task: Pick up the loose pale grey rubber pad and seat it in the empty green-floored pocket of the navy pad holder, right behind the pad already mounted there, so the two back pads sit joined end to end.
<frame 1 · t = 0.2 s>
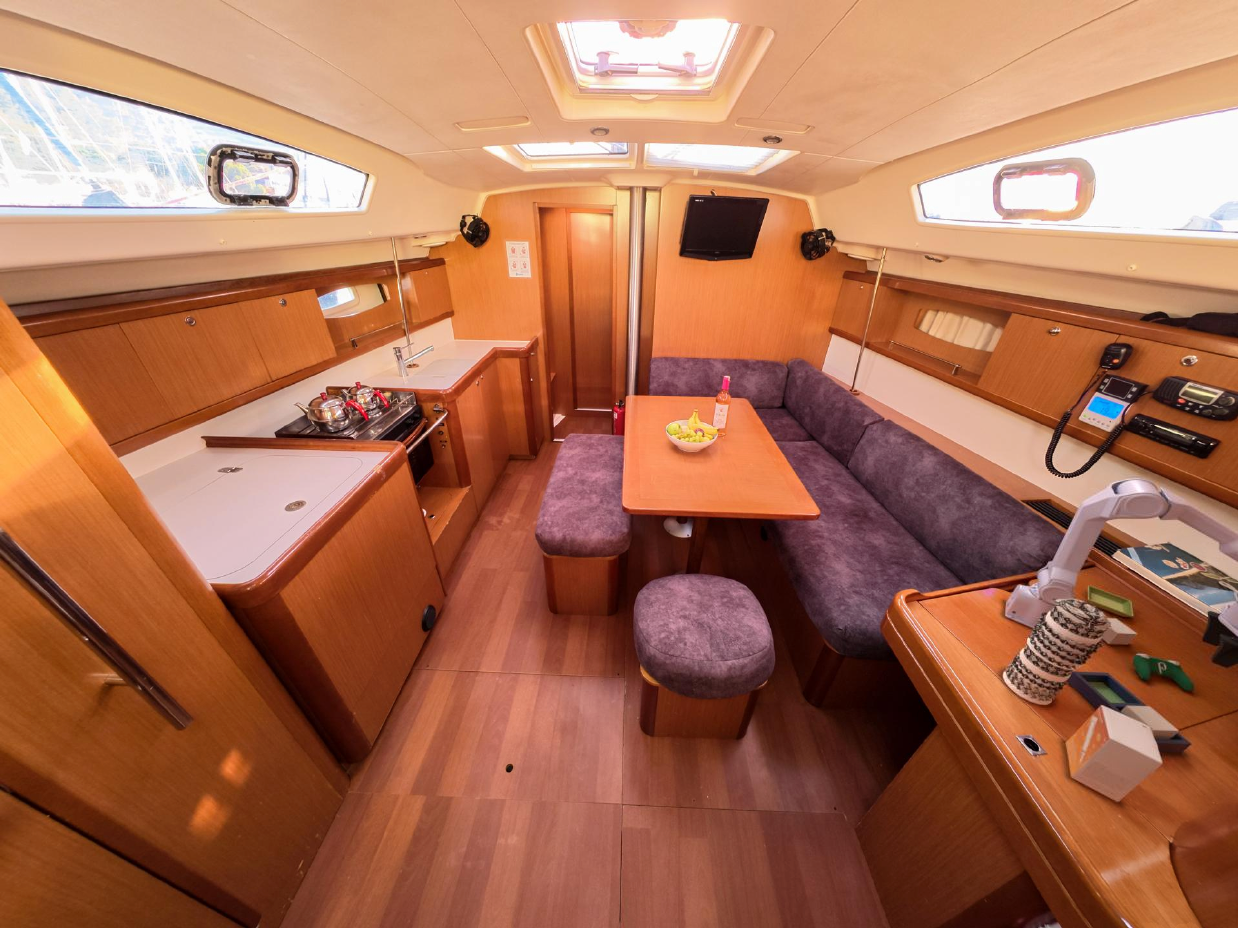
hand: (1213, 653, 89), 10 cm above the table, tool pointing down, fingers open, 7 cm apart
green shallow tray: (1105, 605, 115), on the table
gaming controller: (1155, 676, 95), on the table
loose pad: (1108, 636, 105), on the table
pad holder: (1119, 713, 87), on the table
small box: (1089, 771, 76), on the table
decorative candle: (1026, 687, 92), on the table
mounted pad: (1140, 729, 83), point 1 cm above the table, touching pad holder
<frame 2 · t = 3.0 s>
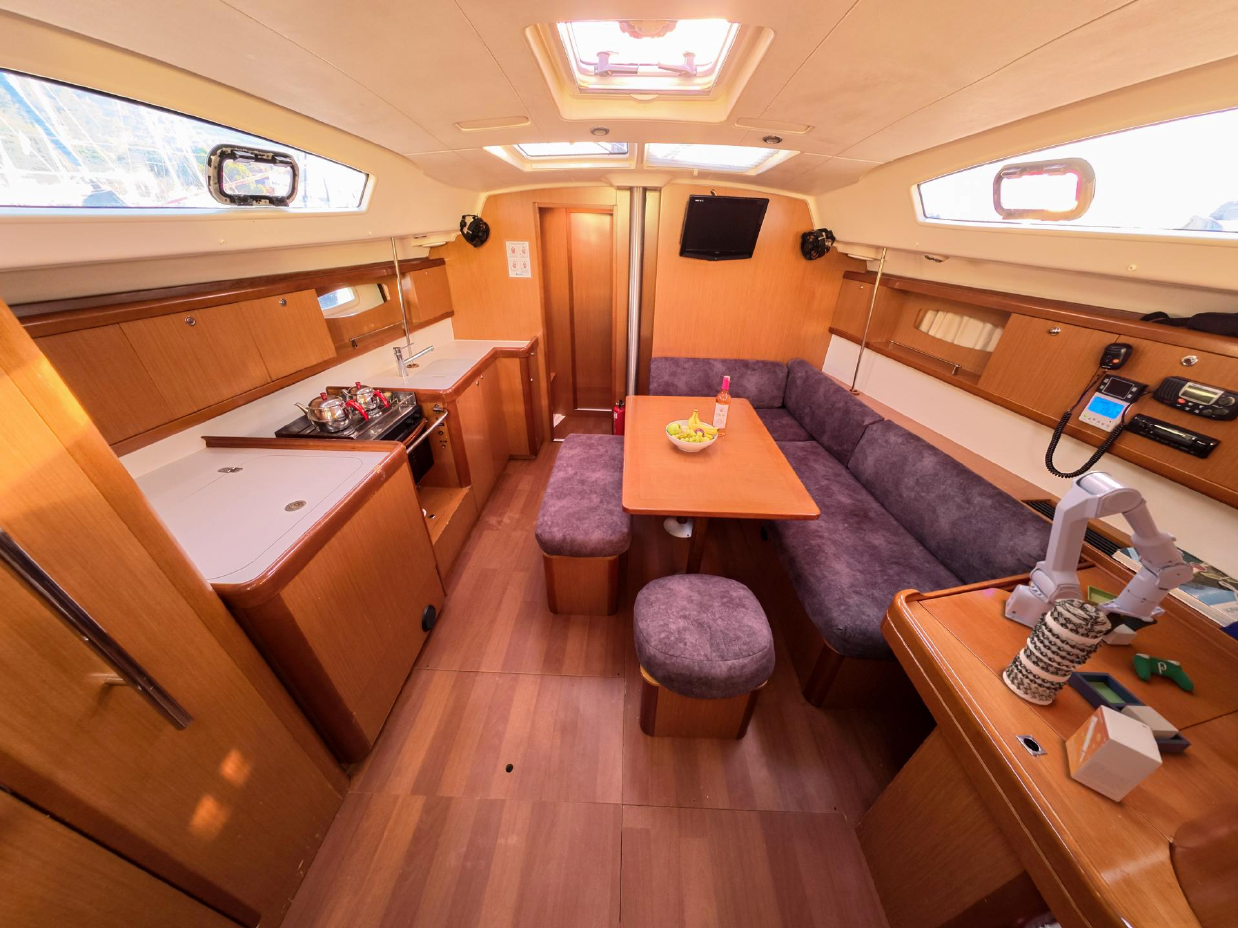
hand: (1110, 632, 104), 1 cm above the table, tool pointing down, fingers closed on loose pad, 5 cm apart
loose pad: (1108, 636, 105), on the table, touching gripper
everything else where it was.
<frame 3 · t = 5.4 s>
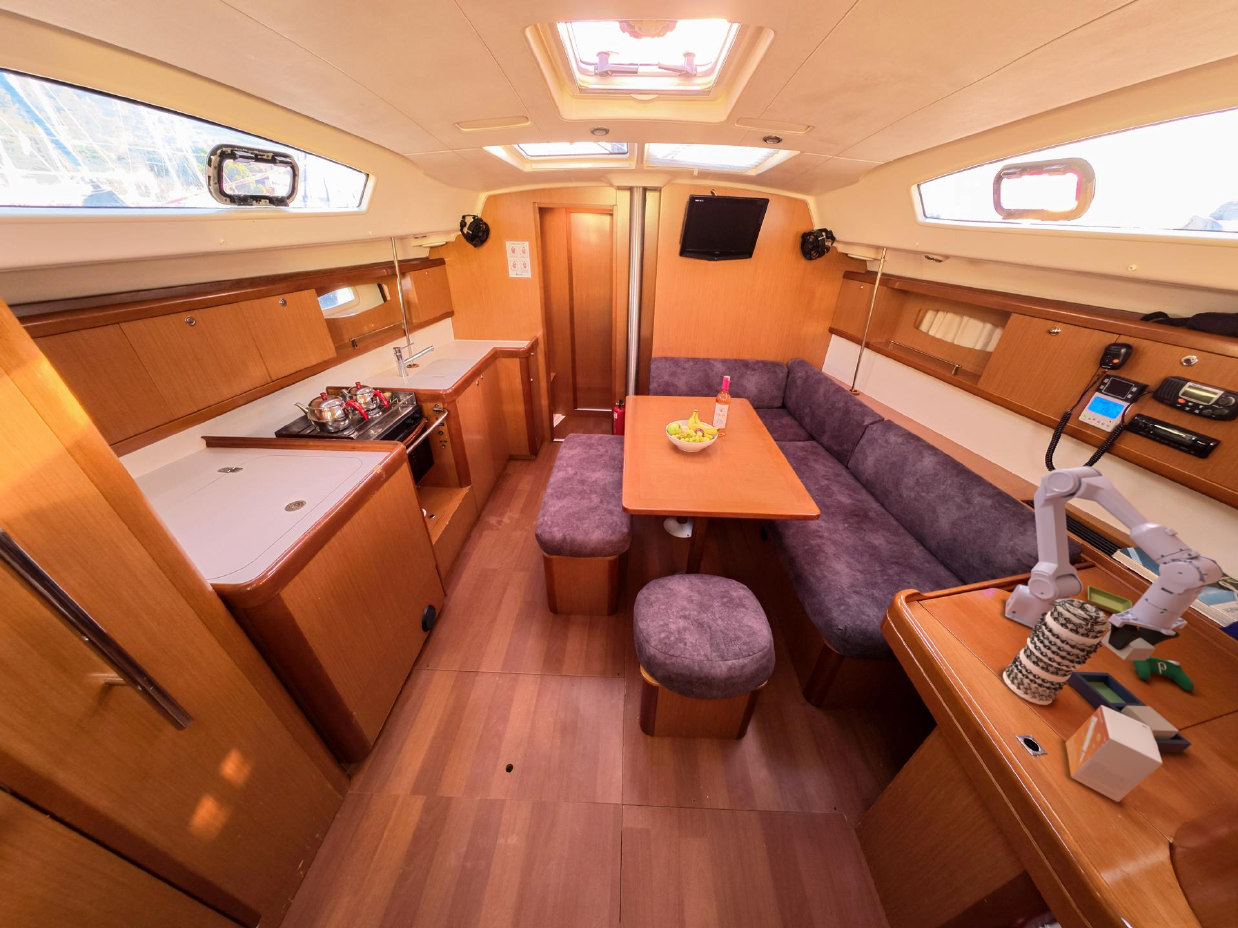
hand: (1125, 646, 92), 8 cm above the table, tool pointing down, fingers closed on loose pad, 5 cm apart
loose pad: (1122, 650, 93), point 7 cm above the table, touching gripper
everything else where it was.
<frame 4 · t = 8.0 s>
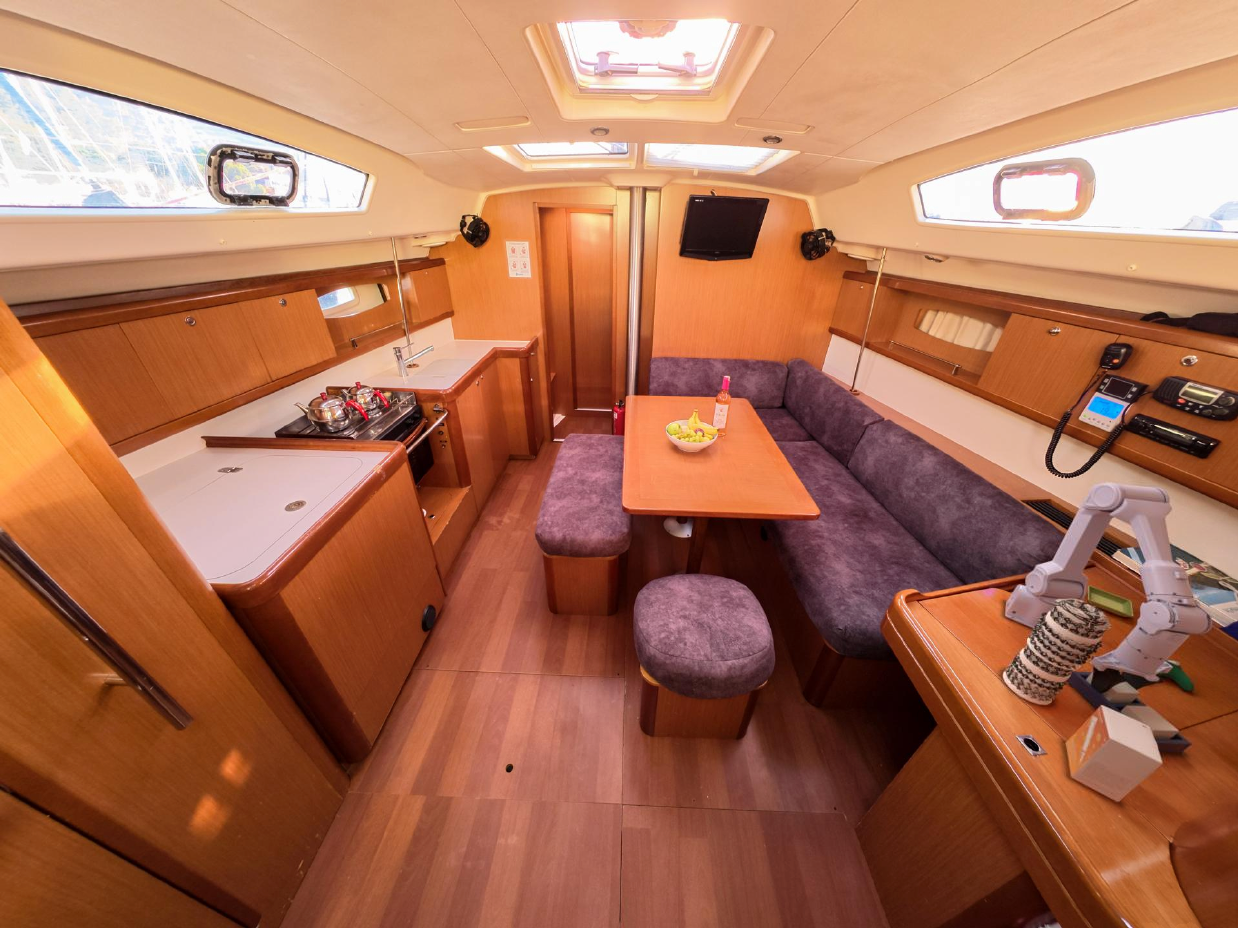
hand: (1108, 689, 89), 3 cm above the table, tool pointing down, fingers closed on loose pad, 5 cm apart
loose pad: (1105, 693, 89), point 1 cm above the table, touching gripper
everything else where it was.
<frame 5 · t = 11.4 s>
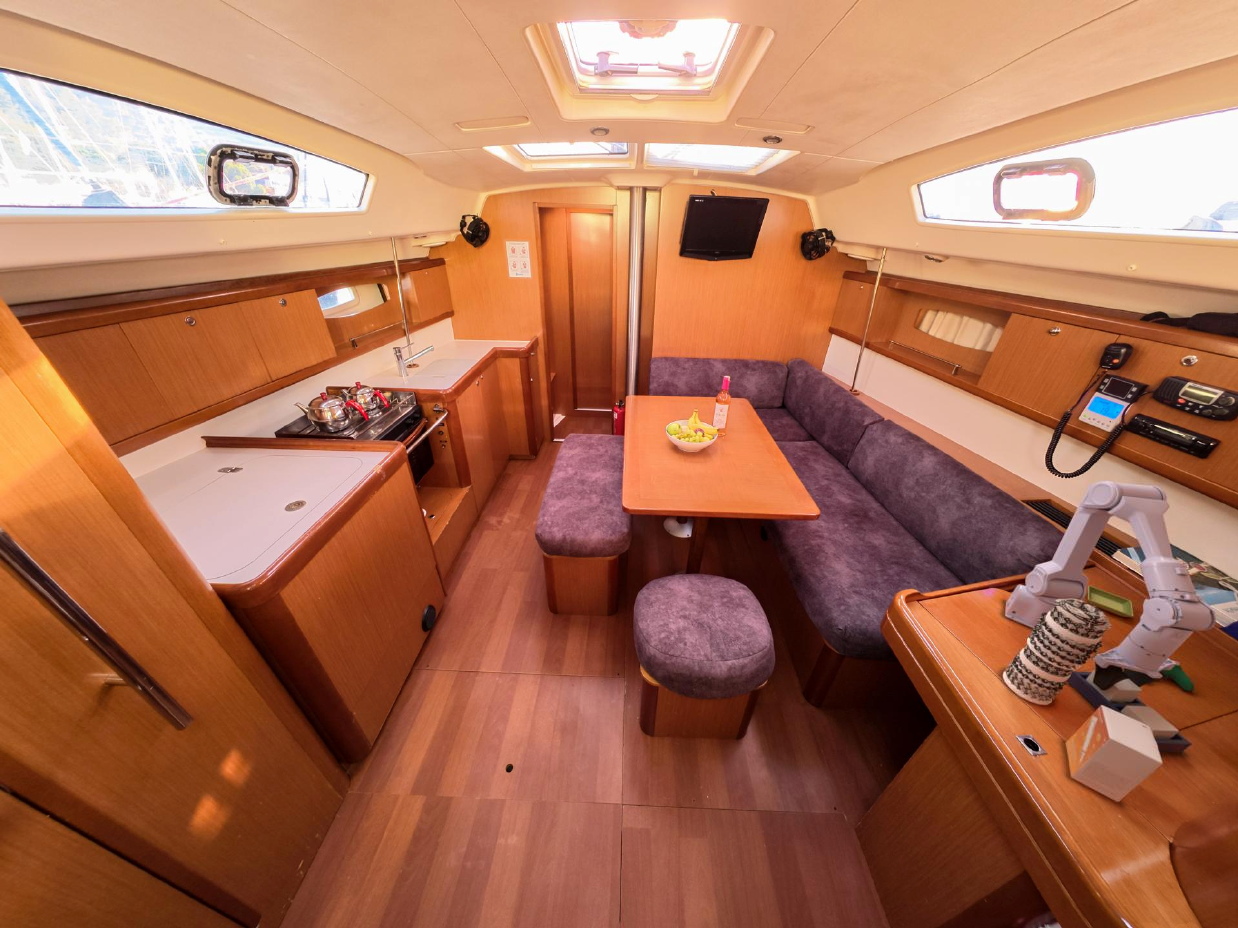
hand: (1111, 686, 88), 4 cm above the table, tool pointing down, fingers closed on loose pad, 5 cm apart
loose pad: (1107, 690, 89), point 2 cm above the table, touching gripper
everything else where it was.
when the fingers open (4 cm above the table, at t = 14.2 s): loose pad drops 1 cm, resting on pad holder.
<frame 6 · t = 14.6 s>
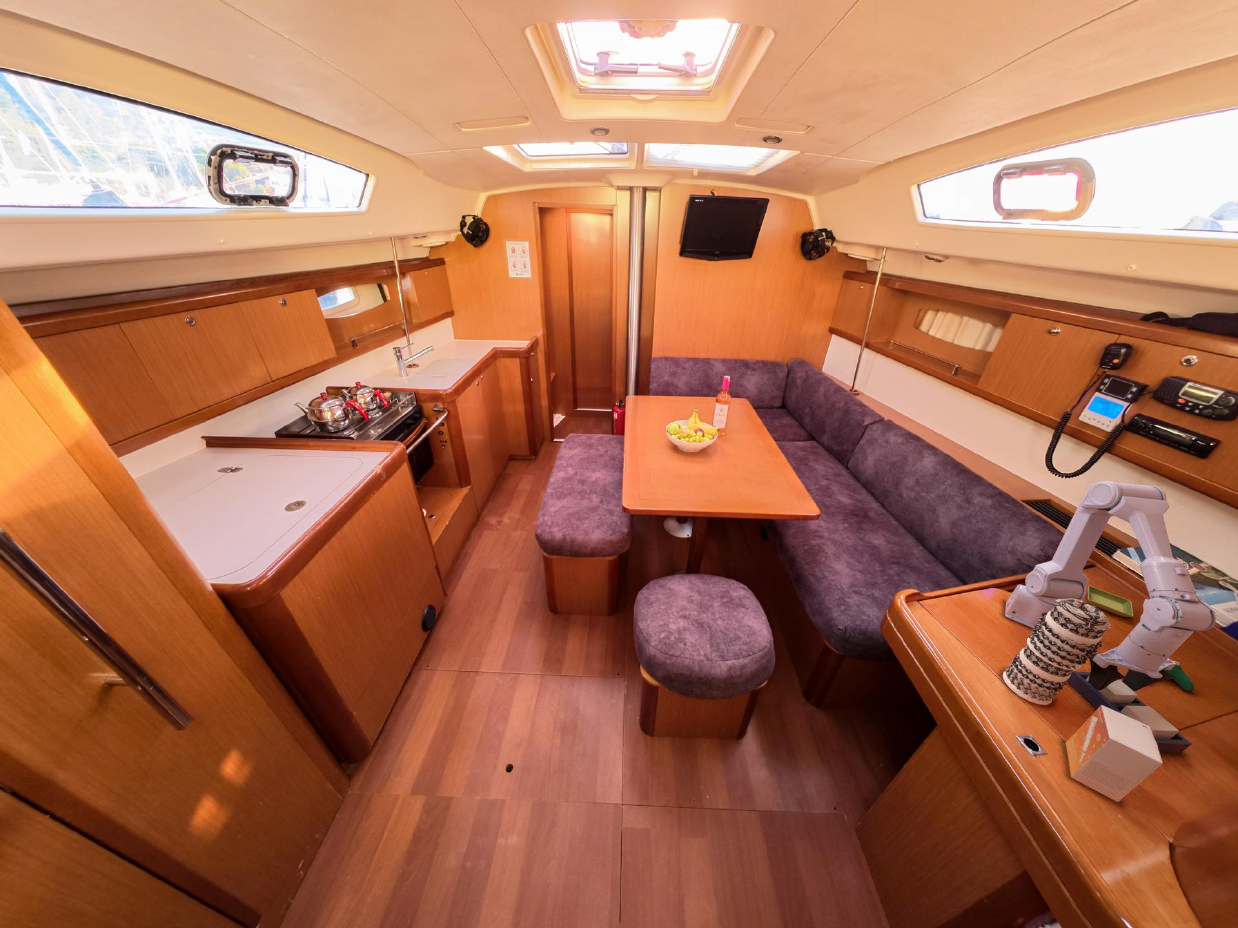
hand: (1111, 686, 88), 4 cm above the table, tool pointing down, fingers open, 7 cm apart
loose pad: (1103, 695, 89), point 1 cm above the table, touching pad holder
everything else where it was.
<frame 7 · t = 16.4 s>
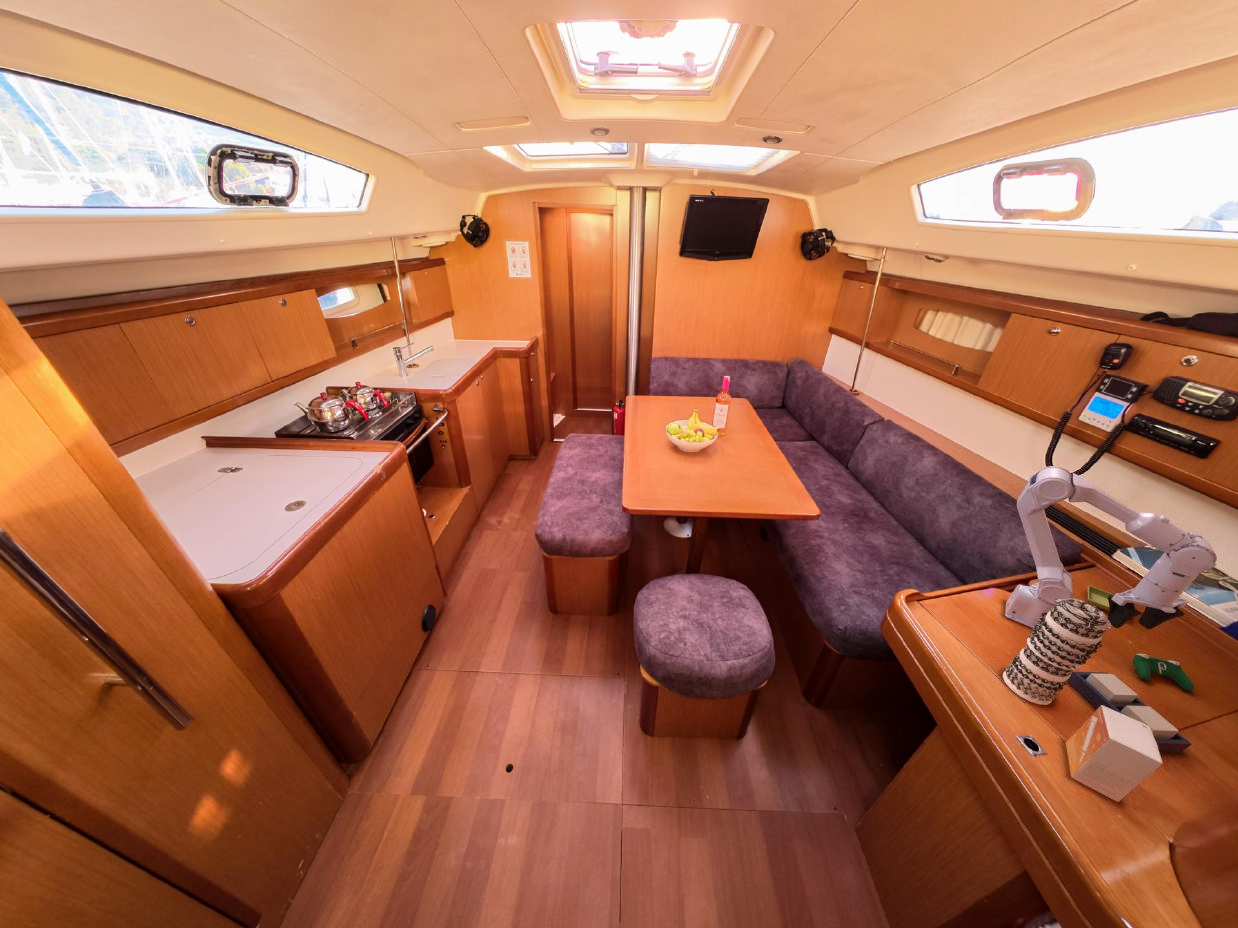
hand: (1128, 625, 97), 9 cm above the table, tool pointing down, fingers open, 7 cm apart
nothing on the table moved.
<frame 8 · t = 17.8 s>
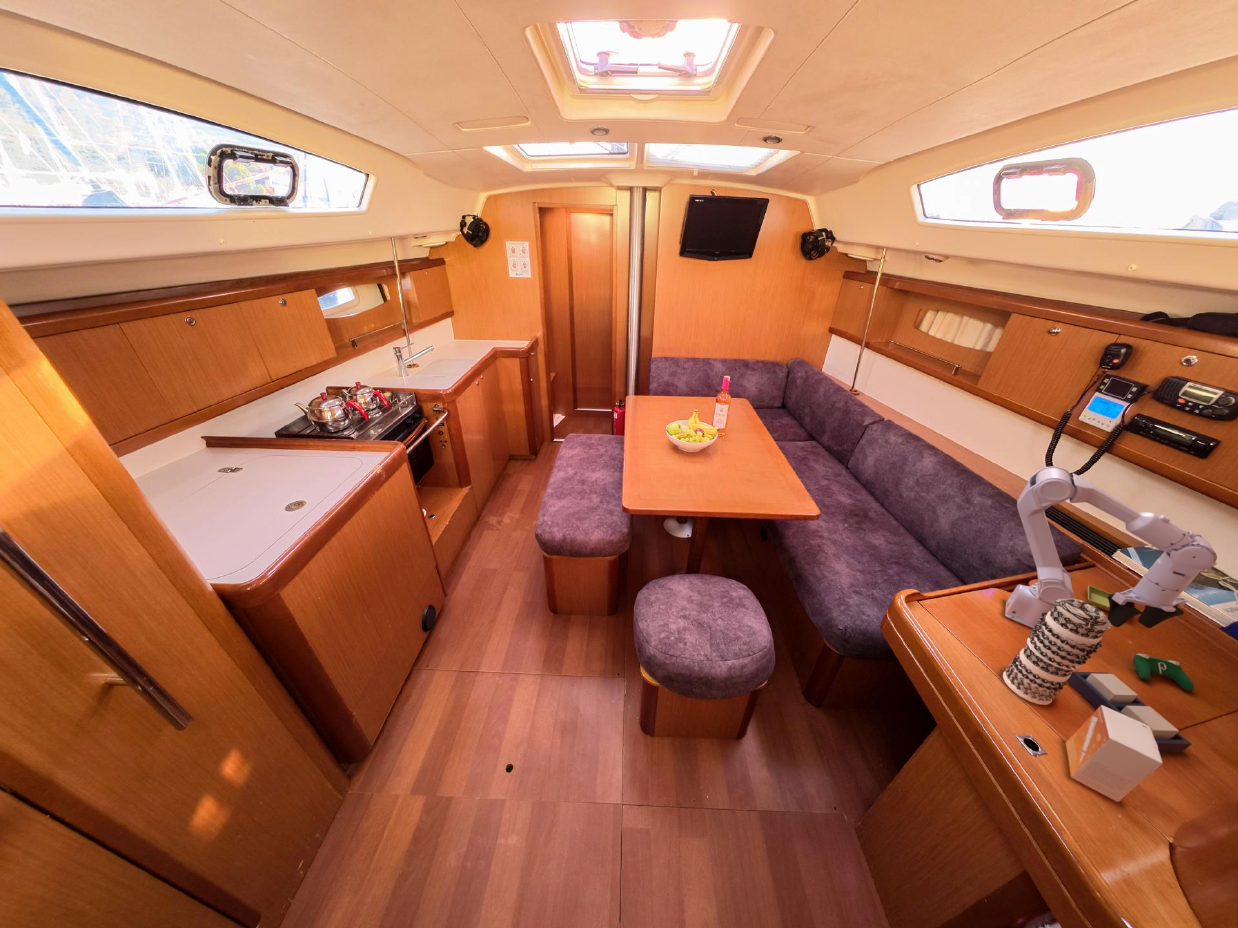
hand: (1128, 624, 97), 9 cm above the table, tool pointing down, fingers open, 7 cm apart
nothing on the table moved.
at the end: loose pad 0.1 cm from the target spot in the pad holder, point 0.8 cm above the pad holder's base; loose pad tilted 0°; mounted pad moved 0.0 cm from its start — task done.
